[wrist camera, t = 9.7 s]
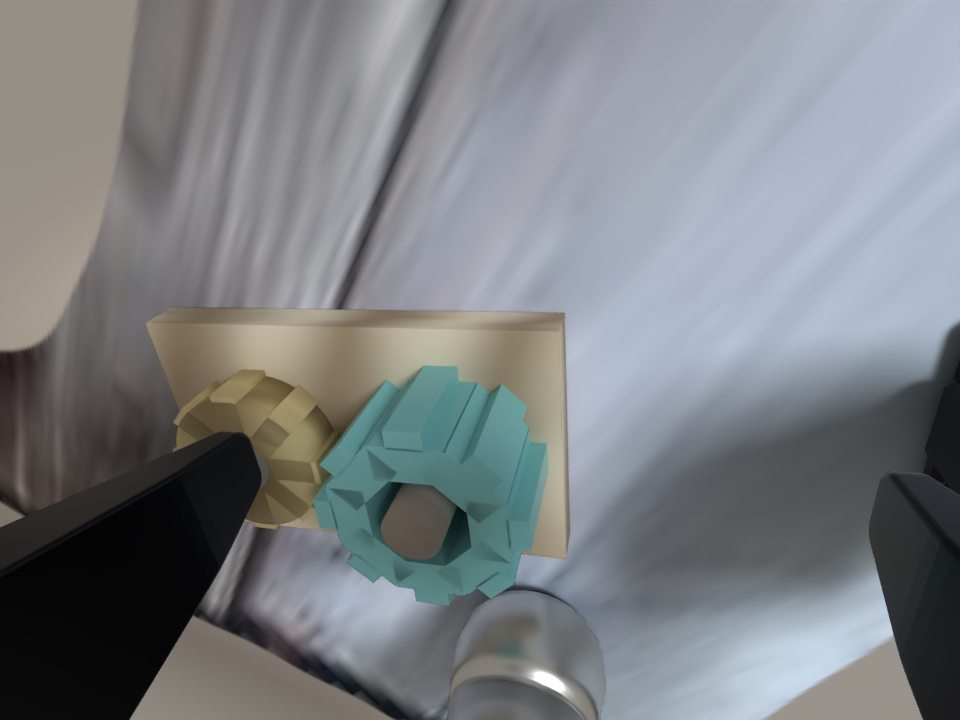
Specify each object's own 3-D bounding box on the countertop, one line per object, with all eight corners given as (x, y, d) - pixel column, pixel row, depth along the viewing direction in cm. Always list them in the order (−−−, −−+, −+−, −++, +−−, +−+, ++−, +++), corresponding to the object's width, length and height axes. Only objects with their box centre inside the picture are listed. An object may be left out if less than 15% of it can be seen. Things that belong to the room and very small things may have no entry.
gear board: (564, 312, 20) (537, 407, 15) (569, 532, 25) (550, 661, 20) (171, 307, 24) (45, 380, 19) (239, 496, 29) (152, 596, 24)
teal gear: (543, 369, 20) (522, 439, 16) (551, 531, 23) (535, 617, 20) (346, 362, 21) (290, 424, 18) (380, 513, 25) (338, 590, 21)
